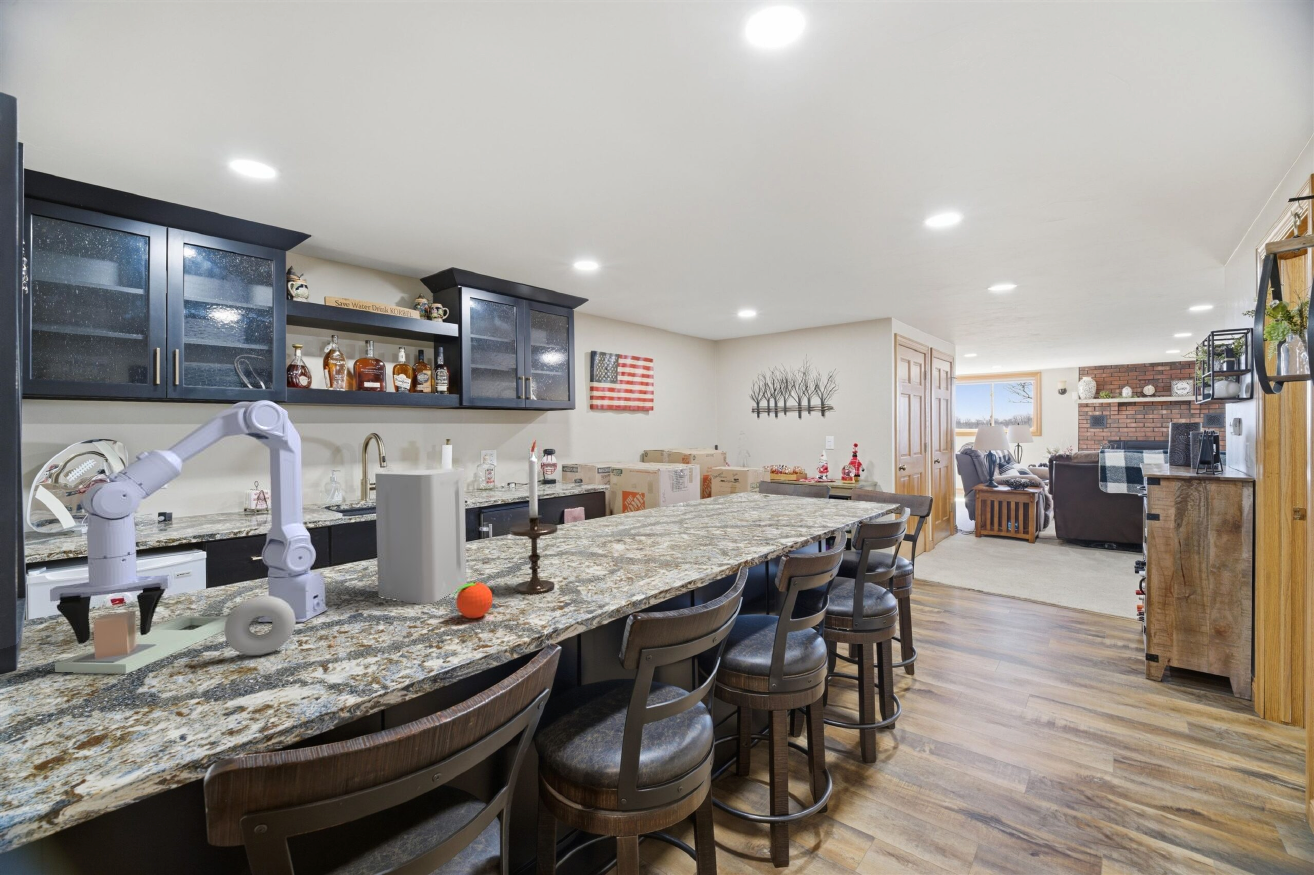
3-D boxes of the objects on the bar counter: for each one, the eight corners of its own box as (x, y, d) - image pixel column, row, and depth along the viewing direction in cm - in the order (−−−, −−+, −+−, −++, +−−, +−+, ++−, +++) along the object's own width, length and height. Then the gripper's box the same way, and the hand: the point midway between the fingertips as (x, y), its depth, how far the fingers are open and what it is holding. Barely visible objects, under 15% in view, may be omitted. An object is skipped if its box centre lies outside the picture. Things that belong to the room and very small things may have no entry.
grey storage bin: (379, 610, 118) (376, 476, 118) (378, 592, 131) (375, 472, 131) (474, 597, 127) (471, 472, 126) (464, 581, 140) (461, 468, 139)
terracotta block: (136, 645, 96) (135, 610, 96) (127, 653, 93) (126, 617, 92) (105, 650, 94) (104, 614, 94) (94, 658, 91) (93, 621, 91)
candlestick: (557, 581, 139) (555, 438, 138) (559, 593, 128) (556, 439, 128) (511, 584, 137) (509, 439, 136) (510, 597, 126) (507, 440, 125)
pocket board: (238, 624, 111) (238, 615, 111) (126, 673, 89) (125, 663, 89) (180, 623, 112) (180, 615, 112) (55, 672, 90) (54, 661, 90)
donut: (222, 664, 92) (221, 603, 92) (227, 656, 95) (225, 597, 95) (295, 652, 97) (294, 594, 97) (297, 645, 100) (296, 589, 100)
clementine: (459, 627, 108) (458, 590, 108) (445, 618, 113) (445, 582, 113) (499, 617, 113) (498, 582, 113) (484, 609, 118) (483, 575, 118)
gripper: (176, 545, 100) (178, 622, 100) (63, 555, 93) (66, 637, 94) (163, 553, 94) (165, 635, 94) (41, 564, 87) (45, 652, 87)
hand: (115, 637), depth 93 cm, fingers open, 7 cm apart
